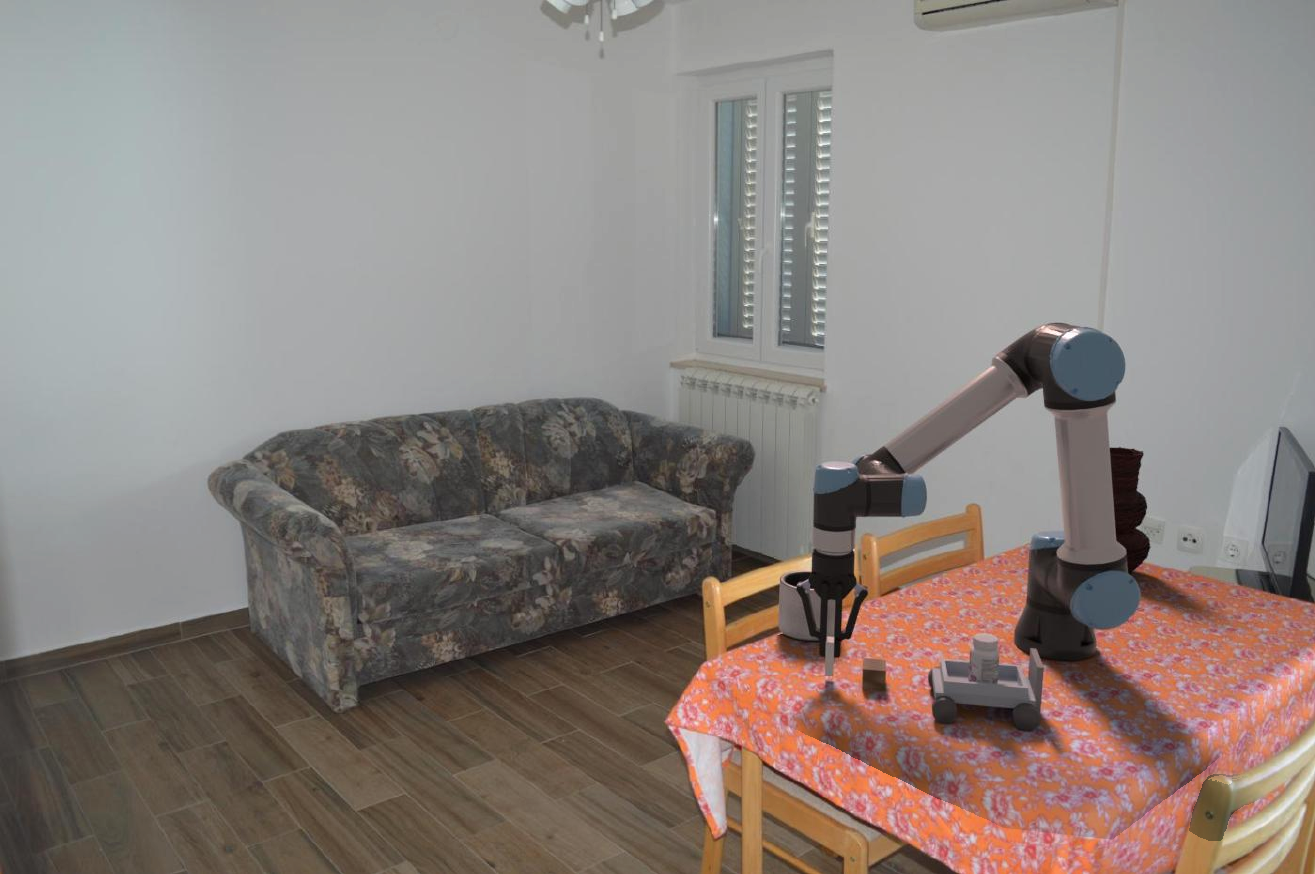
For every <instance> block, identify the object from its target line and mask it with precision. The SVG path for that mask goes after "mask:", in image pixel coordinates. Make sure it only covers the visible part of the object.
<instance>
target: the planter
mask: <svg viewBox="0 0 1315 874" xmlns="http://www.w3.org/2000/svg"><path fill="white" fill-rule="evenodd" d="M811 570H812V569H810V570H808V569H806V570H805V569H801V570H791V571H788V572H786V573H784V574H782V575H781V576H780V578H779V592H778V593H779V596H778V597H779V598H778V619H777V620H778V622H777V625H778V629H779V631H780V632H781V633H782V634H783V635H785V636H787V637H789V638H791V639H794V640H798V641H801V642H802V641H803V642H804V641H805V642H819V639H818V638H816V637H811V636H810V634H809V629H808V625H807V620H806V616H805V611H804V607H803V602H802V598H801V597H800V595H799V594H798V592H797V590H796V588H797V584H798V582H804V581H806V580H807V579H808V578H809V575H810V573H811ZM809 595H810V599H811V604H812V608H813V613H814V617H815V622H816V626H817V628H818V629H820V611H821V598H820V597H819V596H818V595H817V593H816V592H815V590H814V589H813V588H812V586H810V592H809ZM834 628H835V600H832V599H831V600H828V616H827V636H828V637H834Z"/></svg>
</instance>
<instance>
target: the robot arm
mask: <svg viewBox="0 0 1315 874" xmlns="http://www.w3.org/2000/svg"><path fill="white" fill-rule="evenodd" d="M1125 374H1126V359H1125V355H1124V352H1123V350H1122V348H1121V347H1120V345H1119V343H1118V342H1117V341H1116V340H1115V339H1113V337H1111V336H1110V335H1108V334H1107V333H1105V332H1102V331H1101V330H1099V329H1096V328H1093V327H1087V326H1079V325H1072V324H1068V323H1063V322H1049V323H1044V324H1041V325H1039V326H1037V327H1035V328H1033V329H1031V330H1029V331H1028V332H1026V333H1025V334H1023V335H1022V336H1020V337H1019V338H1018V339H1016V340H1014V342H1012V343H1010V344H1009V345H1008V346H1007V347H1005V348H1004V349H1003V350H1001V351H999V353H997V354H996V355H995V356H993V357H992V359H991V365H990V366H989V367H988V368H986V369H985V370H983V371H982V372H981V373H979V374H978V375H977V376H976V377H974V378H973V379H971V380H970V381H968V383H966V384H965V385H963V386H962V387H961V388H959V389H958V390H957V391H956V392H954V393H953V394H952V395H950V396H949V397H948V398H946V399H945V400H943V401H942V402H941V403H939V404H938V405H937V406H935V407H934V408H933V409H931V410H930V411H928V412H927V413H926V414H924V415H923V416H922V417H921V418H919V419H918V420H917V421H915V422H913V424H911V425H910V426H909V427H907V428H906V429H904V430H903V431H902V432H900V433H898V434H897V436H894V438H892V439H891V440H889V441H888V442H886V444H884V445H883V446H881V447H880V448H879V449H877V450H876V451H874V452H873V453H864V454H861V455H859V456H857V457H855V458H854V459H853V460H852V462H846V461H837V460H836V461H825V462H821V463H820V464H818V465H817V467H816V468H815V472H814V481H813V483H814V484H813V488H812V489H813V520H812V521H813V523H812V538H811V539H812V547H813V549H812V550H811V569H810V570H811V573H810V575H809V578H808V579H807V580H806V581H804V582H798V584H797V588H796V590H797V592H798V594H799V595H800V597H801V598H802V602H803V607H804V611H805V616H806V620H807V625H808V629H809V634H810V636H811V637H816V638H818V639H819V641H818V642H819V643H818V644H819V647H818V651H819V652H818V655H819V657H821V658H824V662H825V663H824V676H825V677H834V669H835V668H834V666H835V665H834V664H835V659H836V658H837V659H840V657H841V651H842V650H841V649H842V641H844V640H851V639H852V636H853V632H854V630H855V626H856V622H857V619H858V616H859V614H860V609H861V606H862V604H863V602H864V601H865V600H866V598H867V597H868V595H869V588H868V587H867V586H866V585H861V584H860V583H859V582H858V581H857V577H856V575H855V560H856V552H855V551H854V549H855V548H856V533H857V531H856V530H857V518H883V517H884V518H908V517H916V516H917V517H918V516H921V515H922V514H923V513H924V512H925V510H926V507H927V502H928V491H927V484H926V481H925V479H924V477H923V476H922V475H920V474H915V473H917V472H918V471H919V470H920V469H921V468H923V467H924V466H926V465H927V464H928V463H929V462H931V461H933V460H934V459H936V458H937V457H938V456H939V455H942V454H943V452H945V451H947V450H948V449H949V448H950V447H952V446H953V445H955V444H956V443H957V442H958V441H960V440H962V438H964V437H965V436H967V435H968V434H969V433H971V432H972V431H973V430H974V429H976V428H978V427H979V426H981V425H982V424H983V423H985V422H986V421H987V420H988V419H990V418H991V417H993V416H994V415H996V413H998V412H1000V411H1001V410H1002V409H1004V408H1005V407H1007V406H1009V404H1010V403H1012V402H1013V401H1014V400H1016V399H1027V398H1028V397H1029V396H1031V395H1032V394H1033V393H1035V392H1037V391H1039V390H1041V389H1042V397H1043V405H1044V408H1045V410H1047V412H1049V413H1050V414H1051V415H1053V417H1054V427H1055V439H1056V451H1057V452H1056V453H1057V465H1058V476H1059V487H1060V488H1059V489H1060V501H1061V503H1060V504H1061V513H1062V523H1063V525H1062V527H1063V530H1045V531H1039V532H1036V533H1035V534H1033V535H1032V536H1031V540H1030V543H1029V544H1030V545H1029V549H1028V553H1029V555H1028V556H1029V557H1028V570H1027V582H1026V583H1027V586H1026V600H1025V601H1026V602H1025V606H1024V607H1023V610H1022V612H1021V614H1020V616H1019V619H1018V621H1017V623H1016V626H1015V629H1014V633H1013V634H1014V635H1013V642H1014V644H1015V645H1016V646H1017V647H1018V648H1019V649H1020V650H1022V651H1024V652H1026V653H1029V654H1030V648H1034V649H1037V652H1038V654H1039V657H1040V658H1044V659H1049V660H1055V661H1071V662H1073V661H1082V660H1086V659H1090V658H1091V657H1093V656H1094V655H1096V652H1097V637H1096V633H1095V630H1100V631H1104V630H1105V631H1106V630H1113V629H1116V628H1118V627H1120V626H1122V625H1124V624H1126V623H1127V622H1128V621H1129V619H1130V618H1131V617H1132V616H1134V615H1135V614H1136V612H1137V610H1138V608H1139V606H1140V603H1141V600H1142V599H1141V597H1142V593H1141V589H1140V586H1139V584H1138V582H1137V581H1136V579H1135V578H1134V577H1133V575H1132V574H1131V575H1130V574H1128V567H1127V554H1126V549H1125V547H1123V546H1122V545H1121V544H1120V543H1118V542H1117V541H1116V531H1115V517H1114V503H1113V489H1112V475H1111V460H1110V448H1111V447H1110V435H1109V420H1108V419H1109V418H1108V412H1109V410H1110V409H1111V408H1112V407H1113V406H1114V405H1115V404H1116V402H1117V397H1116V395H1117V394H1116V390H1117V389H1118V387H1119V385H1120V384H1121V383H1122V382H1123V379H1124V377H1125ZM810 586H812V588H813V589H814V590H815V592H816V593H817V595H818V596H819V597H820V598H821V611H820V629H818V628H817V626H816V622H815V617H814V613H813V608H812V604H811V599H810V595H809V592H810ZM853 589H854V591H853V596H854V599H853V603H852V605H851V609H850V613H849V616H848V618H847V619H848V620H847V622H846V625H845V629H844V630H843V629H842V627H843V624H842V623H843V600H844V599H845V598H846V597H848V595H849V594H850V593H851V592H852V590H853ZM831 599H832V600H835V628H834V637H828V636H827V616H828V600H831Z"/></svg>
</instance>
